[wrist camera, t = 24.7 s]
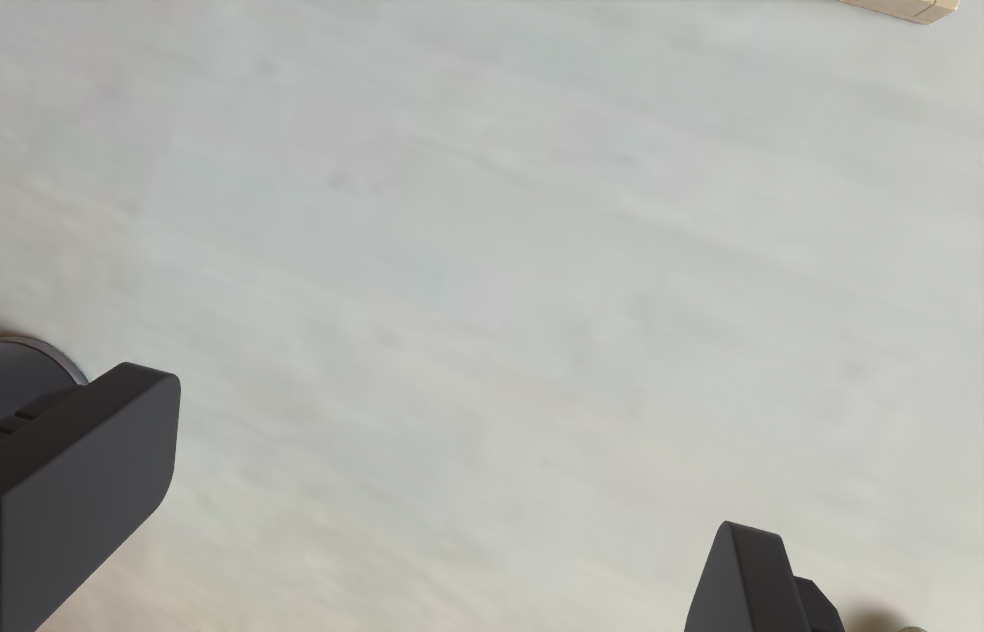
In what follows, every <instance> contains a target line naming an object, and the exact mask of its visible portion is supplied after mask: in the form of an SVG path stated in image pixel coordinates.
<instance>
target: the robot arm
mask: <svg viewBox="0 0 984 632" xmlns="http://www.w3.org/2000/svg"><path fill="white" fill-rule="evenodd" d="M180 395H181V386H180V381H179V378H178V377H177V376H176V375H175V374H172V373H168V372H164V371H160V370H156V369H153V368H149V367H145V366H141V365H137V364H134V363H130V362H123V363H121V364H119V365H117V366H116V367H114V368H113V369H111V370H109V371H108V372H106V373H105V374H103V375H102V376H100V377H99V378H97V379H95V380H94V381H92V382H91V383H89V382H88V380H87V379H86V377H85V376H84V375H83V373H82V372H81V371H80V370H79V368H78V367H77V366H76V365H75V364H74V363H73V362H72V361H71V360H70V359H69V358H67V357H66V356H65V355H64V354H62V353H61V352H59V351H58V350H57V349H55V348H53V347H51V346H50V345H48V344H45V343H43V342H41V341H38V340H35V339H31V338H27V337H19V336H10V337H2V338H0V632H34V631H35V630H36V629H37V628H38V627H39V626H40V625H41V624H42V623H43V622H44V621H45V620H46V619H47V618H48V617H49V616H50V615H51V614H52V613H53V612H54V611H55V610H56V609H57V608H58V607H59V606H60V605H61V604H62V603H63V602H64V601H65V600H66V599H67V598H68V597H69V596H70V595H71V594H72V593H73V592H74V591H75V590H76V589H77V588H78V587H79V586H80V585H81V584H82V583H83V582H84V581H85V580H86V579H87V578H88V577H89V576H90V575H91V574H92V573H93V572H94V571H95V570H96V569H97V568H98V567H99V566H100V565H101V564H102V563H103V562H104V561H105V560H106V559H107V558H108V557H109V556H110V555H111V554H112V553H113V552H114V551H115V550H116V549H117V548H118V547H119V546H120V545H121V544H122V543H123V542H124V541H125V540H126V539H127V538H128V537H129V536H130V535H131V534H132V533H133V532H134V531H135V530H136V529H137V528H138V527H139V526H140V525H141V524H142V523H143V522H144V521H145V520H146V519H147V518H148V517H149V516H150V515H151V514H152V513H153V512H154V511H155V510H156V509H157V508H158V506H159V505H160V503H161V502H162V500H163V499H164V497H165V495H166V493H167V490H168V488H169V485H170V483H171V479H172V476H173V471H174V463H175V451H176V440H177V429H178V417H179V406H180ZM684 632H845V630H844V627H843V625H842V622H841V619H840V617H839V614H838V611H837V609H836V608H835V607H834V606H833V605H832V603H831V602H830V601H829V600H828V599H827V598H826V596H825V595H824V594H823V593H822V592H821V591H820V589H819V588H818V587H817V586H816V585H815V583H814V582H813V581H812V580H808V579H804V578H800V577H797V576H793V573H792V570H791V566H790V563H789V560H788V557H787V554H786V551H785V548H784V544H783V541H782V539H781V537H780V536H779V535H778V534H775V533H771V532H767V531H763V530H760V529H756V528H752V527H748V526H744V525H741V524H737V523H733V522H729V521H724V522H723V523H722V524H721V526H720V527H719V529H718V531H717V534H716V536H715V539H714V542H713V545H712V547H711V550H710V553H709V556H708V559H707V561H706V564H705V567H704V570H703V573H702V575H701V578H700V581H699V584H698V587H697V590H696V592H695V595H694V598H693V601H692V604H691V606H690V609H689V613H688V616H687V620H686V625H685V630H684Z"/></svg>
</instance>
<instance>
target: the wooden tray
mask: <svg viewBox="0 0 984 632" xmlns="http://www.w3.org/2000/svg"><path fill="white" fill-rule="evenodd" d="M839 1H842V2H846V3H849V4H853V5H856V6H860V7H863V8H867V9H871V10H874V11H878V12H881V13H885V14H888V15H892V16H895V17H899V18H902V19H906V20H910V21H913V22H917V23H920V24H924V25H930V24H932V23H933V22H935V21H937V20H939V19H941V18H943V17H945V16H947V15H949V14H950V13H952V12H954V11H956V9H957V7H958V5H959V2H960V0H839Z"/></svg>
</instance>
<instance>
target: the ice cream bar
mask: <svg viewBox="0 0 984 632" xmlns="http://www.w3.org/2000/svg"><path fill="white" fill-rule="evenodd" d="M898 632H926V631H925V630H924V629H921V628H918V627H906V628H903V629H901V630H899V631H898Z"/></svg>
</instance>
